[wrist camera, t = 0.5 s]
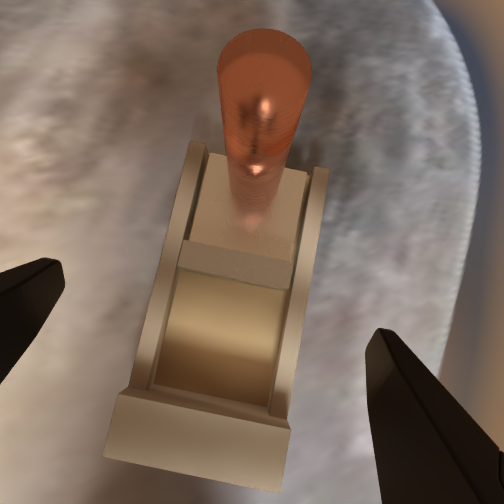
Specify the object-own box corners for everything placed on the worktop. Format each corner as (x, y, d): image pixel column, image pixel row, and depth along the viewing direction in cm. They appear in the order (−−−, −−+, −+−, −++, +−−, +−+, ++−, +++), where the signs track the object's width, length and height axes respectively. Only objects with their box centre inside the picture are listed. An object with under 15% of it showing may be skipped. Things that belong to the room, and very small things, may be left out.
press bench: (271, 452, 21) (279, 493, 16) (132, 423, 21) (101, 456, 16) (319, 186, 23) (337, 158, 19) (196, 161, 24) (186, 127, 19)
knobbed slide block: (282, 290, 20) (330, 275, 9) (185, 270, 20) (118, 231, 9) (303, 179, 22) (367, 48, 11) (211, 160, 22) (180, 10, 11)
